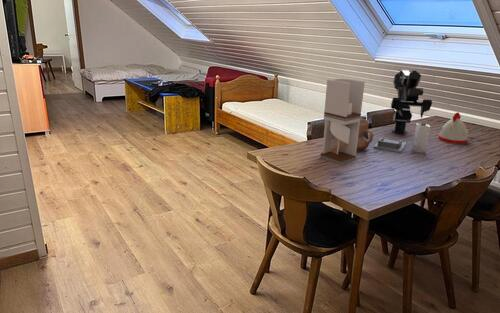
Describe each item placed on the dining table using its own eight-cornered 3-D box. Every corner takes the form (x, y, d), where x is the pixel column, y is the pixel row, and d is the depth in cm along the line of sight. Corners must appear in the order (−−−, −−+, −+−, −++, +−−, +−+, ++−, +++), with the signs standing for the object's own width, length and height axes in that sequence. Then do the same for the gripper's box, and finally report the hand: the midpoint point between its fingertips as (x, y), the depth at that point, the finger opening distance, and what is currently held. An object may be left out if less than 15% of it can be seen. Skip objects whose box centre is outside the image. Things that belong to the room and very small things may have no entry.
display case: (320, 157, 180) (327, 79, 168) (335, 153, 186) (342, 78, 175) (340, 164, 172) (349, 83, 160) (355, 159, 178) (364, 81, 167)
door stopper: (368, 139, 210) (371, 117, 206) (362, 141, 206) (364, 118, 202) (354, 135, 216) (357, 114, 212) (347, 137, 213) (350, 115, 209)
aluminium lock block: (412, 148, 196) (416, 121, 192) (422, 149, 196) (427, 122, 191) (415, 152, 191) (420, 124, 187) (425, 152, 191) (431, 124, 187)
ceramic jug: (329, 147, 195) (332, 119, 190) (345, 141, 205) (348, 114, 200) (362, 157, 183) (366, 127, 178) (377, 150, 193) (381, 122, 188)
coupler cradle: (380, 140, 209) (381, 133, 208) (406, 144, 203) (407, 137, 202) (373, 148, 196) (374, 141, 194) (401, 152, 190) (402, 145, 189)
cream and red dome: (433, 139, 215) (438, 111, 210) (444, 134, 223) (449, 108, 218) (460, 145, 205) (466, 116, 200) (470, 140, 214) (476, 113, 209)
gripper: (394, 81, 201) (395, 104, 192) (434, 83, 197) (436, 106, 189) (390, 96, 210) (391, 119, 201) (428, 98, 206) (430, 121, 198)
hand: (411, 116), depth 197 cm, fingers open, 9 cm apart
